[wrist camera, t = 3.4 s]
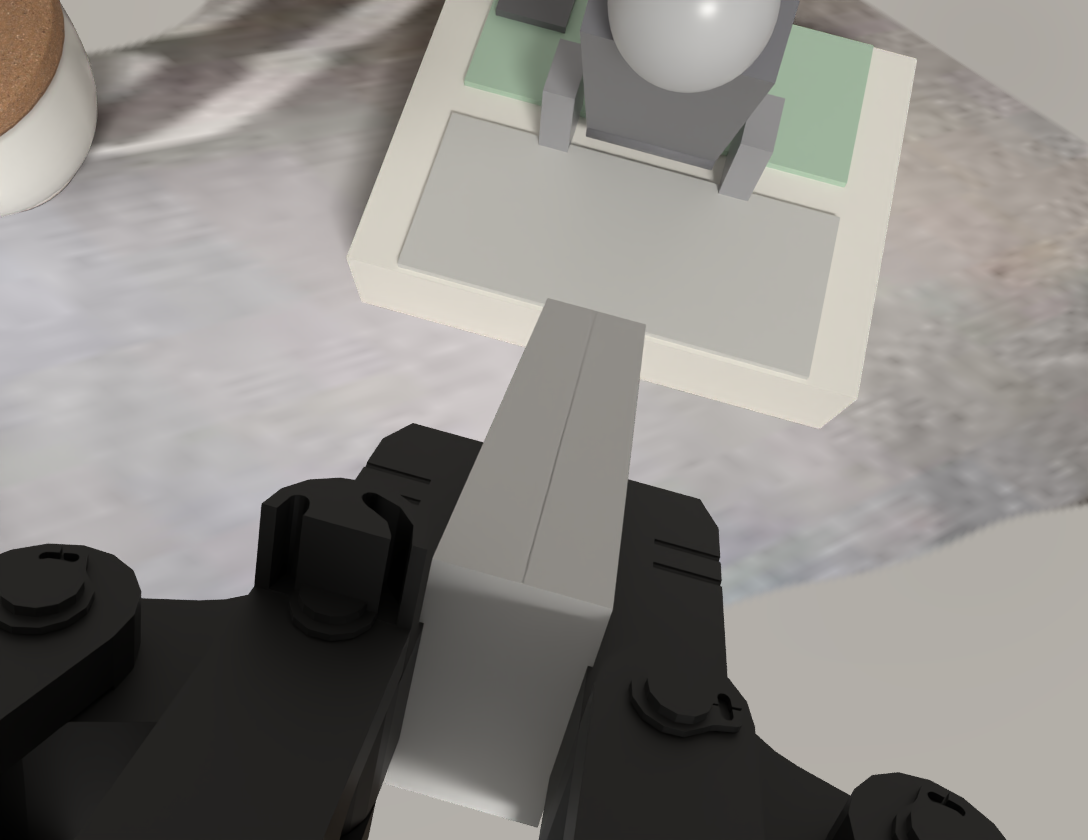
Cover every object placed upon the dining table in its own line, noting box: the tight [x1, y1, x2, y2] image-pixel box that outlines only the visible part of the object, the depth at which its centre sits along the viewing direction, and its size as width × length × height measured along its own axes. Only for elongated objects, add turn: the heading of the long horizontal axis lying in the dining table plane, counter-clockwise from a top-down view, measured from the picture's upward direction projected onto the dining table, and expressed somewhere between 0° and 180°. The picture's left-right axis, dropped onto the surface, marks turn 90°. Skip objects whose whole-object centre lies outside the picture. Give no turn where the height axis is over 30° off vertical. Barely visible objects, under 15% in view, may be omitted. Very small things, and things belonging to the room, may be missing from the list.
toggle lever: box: [580, 0, 799, 170], centre depth 26 cm, size 4×5×16 cm
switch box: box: [346, 0, 917, 429], centre depth 35 cm, size 16×20×8 cm
